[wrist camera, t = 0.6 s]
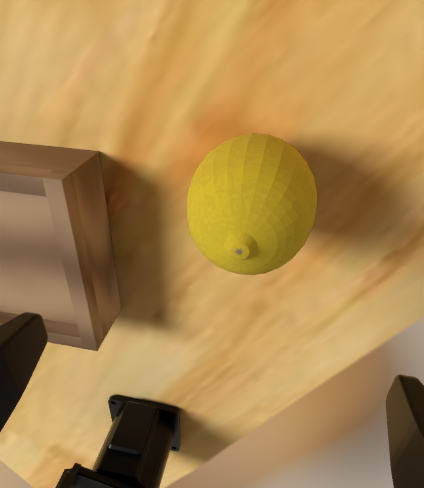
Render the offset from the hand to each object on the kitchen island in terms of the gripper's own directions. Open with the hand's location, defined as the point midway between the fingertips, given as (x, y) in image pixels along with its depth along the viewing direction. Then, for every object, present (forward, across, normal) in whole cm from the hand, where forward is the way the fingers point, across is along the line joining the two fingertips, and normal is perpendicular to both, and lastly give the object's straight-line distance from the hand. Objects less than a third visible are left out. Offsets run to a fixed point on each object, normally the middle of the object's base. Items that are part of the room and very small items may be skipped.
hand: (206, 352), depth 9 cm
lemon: (+13, 0, 0) cm, 13 cm away
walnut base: (+13, +15, +6) cm, 20 cm away
